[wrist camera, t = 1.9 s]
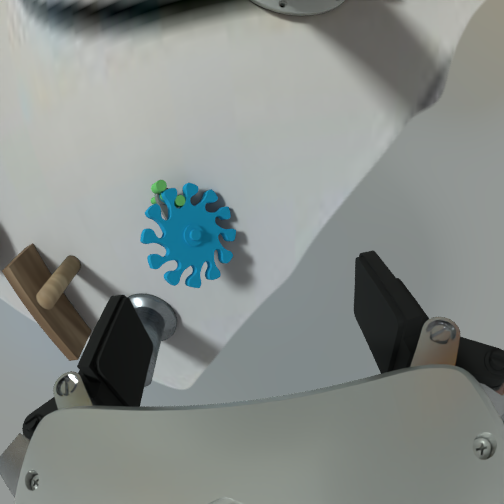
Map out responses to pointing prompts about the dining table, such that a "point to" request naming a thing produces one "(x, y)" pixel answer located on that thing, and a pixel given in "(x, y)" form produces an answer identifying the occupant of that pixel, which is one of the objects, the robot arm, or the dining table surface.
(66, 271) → the dowel pin
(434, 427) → the robot arm
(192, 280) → the gear
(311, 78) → the dining table surface
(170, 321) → the post
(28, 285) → the brown wooden plank
